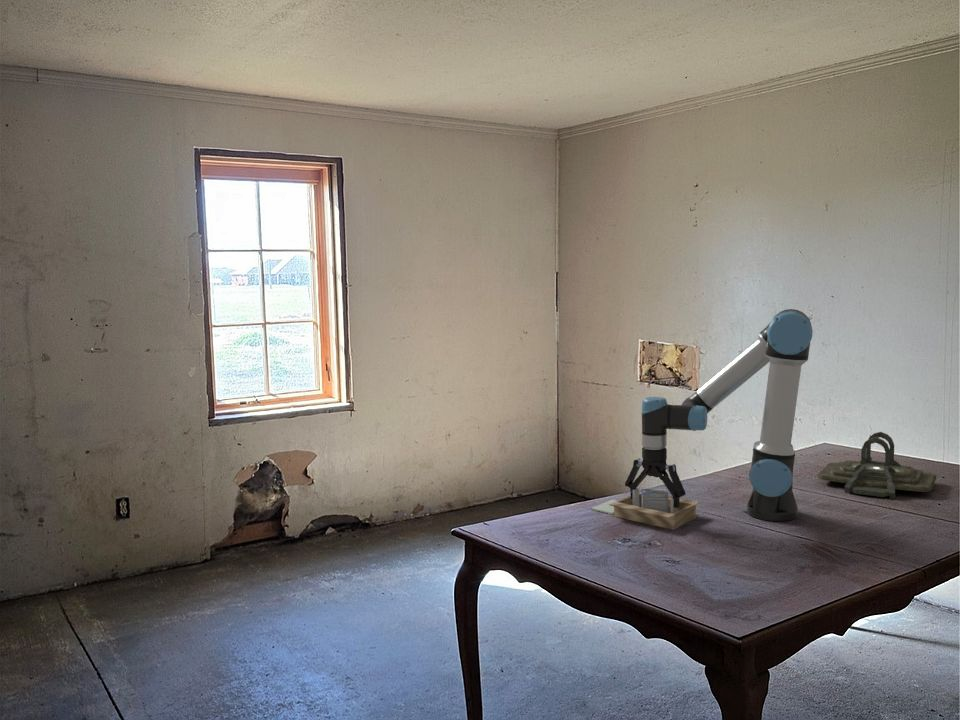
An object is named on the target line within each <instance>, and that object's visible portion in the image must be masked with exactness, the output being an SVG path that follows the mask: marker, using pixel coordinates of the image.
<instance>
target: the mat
mask: <svg viewBox="0 0 960 720" xmlns="http://www.w3.org/2000/svg"><path fill="white" fill-rule="evenodd" d="M616 501H618V500H617V499H610V500H608V501H605V502H602V503H600V504H598V505H595V506H593V507H591V508H590V510H591V511H594V512H598V511H600V512H599V513H603V512H604V513H603V514H607V513H608V515H614V506H610V505H609V504H611V503H614V502H616Z"/></svg>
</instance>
